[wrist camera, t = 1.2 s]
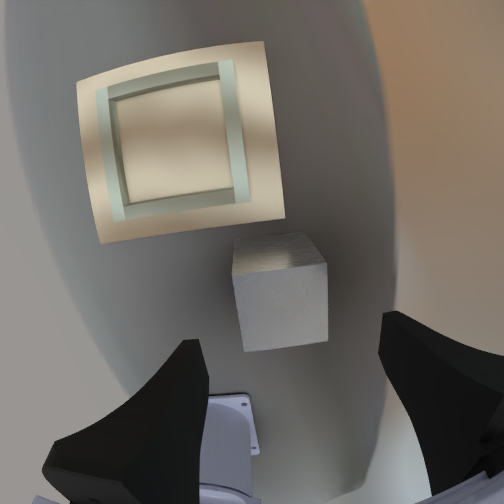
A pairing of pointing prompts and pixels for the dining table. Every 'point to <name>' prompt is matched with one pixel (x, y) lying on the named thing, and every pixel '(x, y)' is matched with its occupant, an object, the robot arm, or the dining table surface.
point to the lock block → (280, 291)
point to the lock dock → (181, 143)
